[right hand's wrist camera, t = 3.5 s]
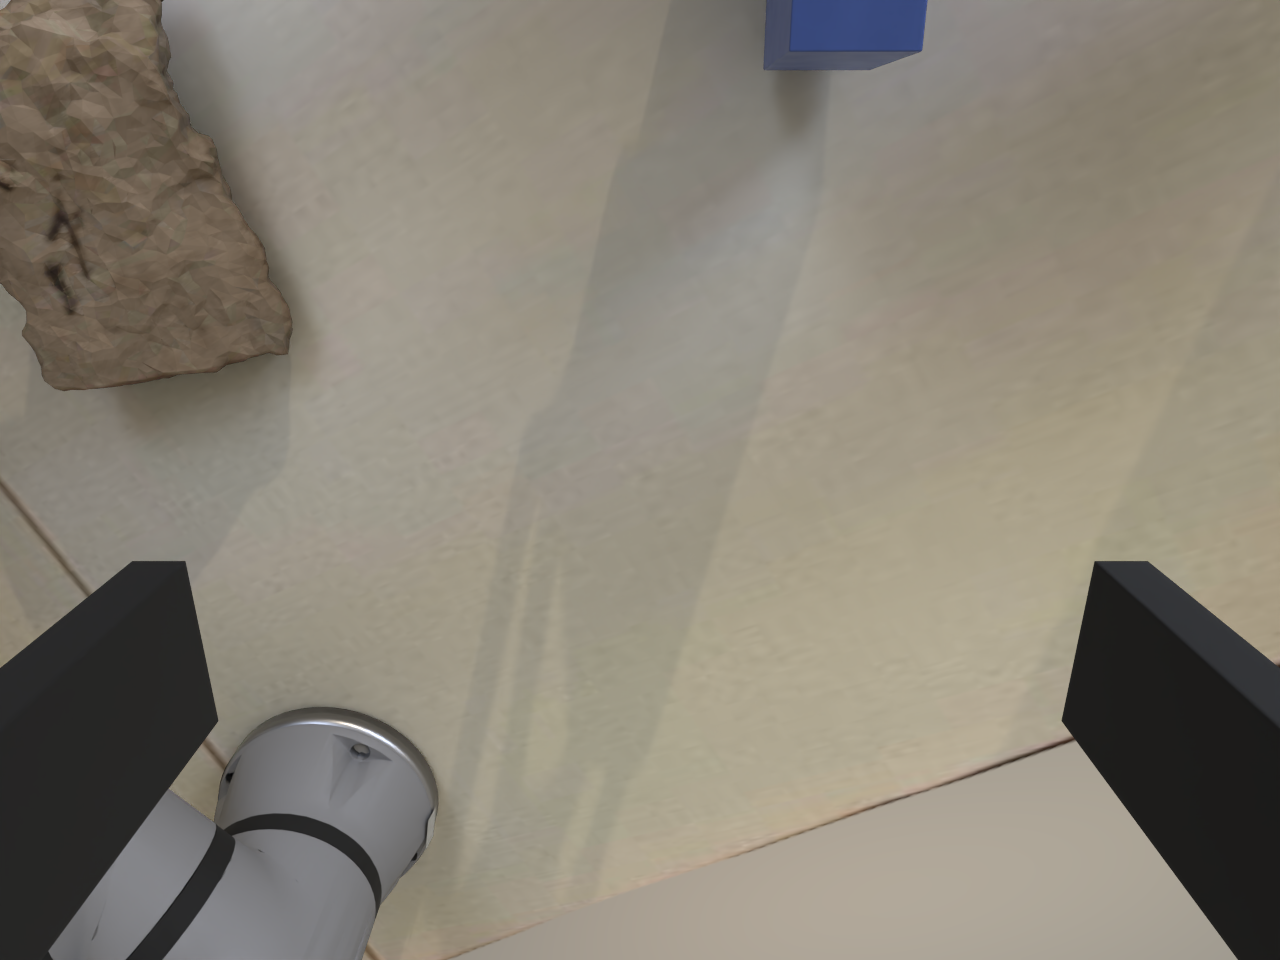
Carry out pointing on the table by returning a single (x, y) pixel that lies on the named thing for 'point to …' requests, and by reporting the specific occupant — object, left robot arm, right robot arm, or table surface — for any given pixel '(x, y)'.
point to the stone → (119, 206)
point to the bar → (841, 33)
